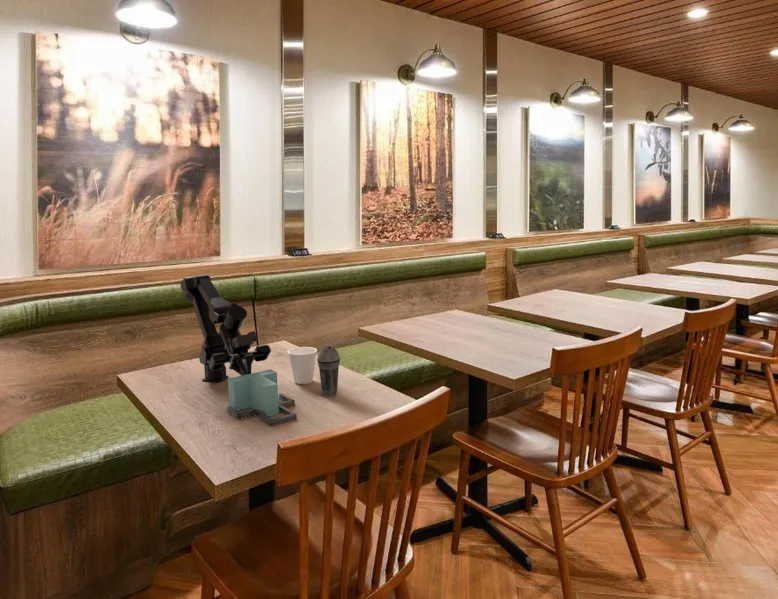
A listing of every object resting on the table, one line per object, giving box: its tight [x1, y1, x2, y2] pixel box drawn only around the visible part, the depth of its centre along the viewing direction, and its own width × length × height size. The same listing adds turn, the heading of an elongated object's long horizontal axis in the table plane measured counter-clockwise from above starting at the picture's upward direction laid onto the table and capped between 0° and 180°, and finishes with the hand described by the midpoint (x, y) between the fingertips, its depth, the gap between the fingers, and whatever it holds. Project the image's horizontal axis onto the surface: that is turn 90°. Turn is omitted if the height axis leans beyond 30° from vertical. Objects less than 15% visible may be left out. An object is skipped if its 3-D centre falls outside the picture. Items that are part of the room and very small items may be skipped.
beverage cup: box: [316, 333, 341, 398], centre depth 182 cm, size 7×7×20 cm
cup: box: [287, 346, 318, 385], centre depth 195 cm, size 10×10×11 cm
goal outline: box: [226, 392, 298, 427], centre depth 169 cm, size 18×18×2 cm
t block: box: [227, 369, 280, 417], centre depth 172 cm, size 14×14×9 cm
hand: (249, 380), depth 177 cm, fingers closed
